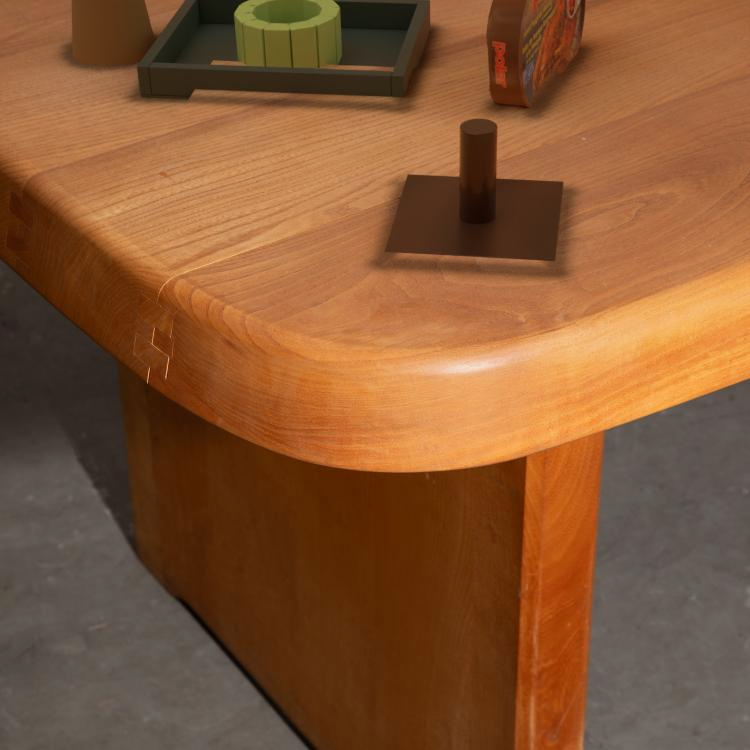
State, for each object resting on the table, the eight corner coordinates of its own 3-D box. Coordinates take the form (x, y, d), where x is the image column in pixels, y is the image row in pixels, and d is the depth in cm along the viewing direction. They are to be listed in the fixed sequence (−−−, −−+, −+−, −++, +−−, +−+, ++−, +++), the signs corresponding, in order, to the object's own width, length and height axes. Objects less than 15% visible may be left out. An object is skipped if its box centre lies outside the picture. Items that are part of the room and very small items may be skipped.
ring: (348, 41, 102) (346, -7, 100) (331, 81, 97) (328, 31, 95) (251, 38, 103) (248, -10, 101) (228, 77, 98) (224, 27, 96)
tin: (524, 133, 91) (529, 3, 86) (477, 126, 92) (478, -3, 87) (587, 45, 102) (594, -74, 97) (544, 40, 103) (549, -79, 98)
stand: (562, 199, 83) (568, 94, 80) (554, 280, 76) (559, 168, 72) (407, 192, 85) (406, 88, 81) (384, 270, 77) (381, 160, 74)
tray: (430, 34, 105) (430, -1, 103) (404, 114, 94) (403, 76, 92) (193, 26, 107) (190, -8, 106) (141, 103, 96) (136, 66, 95)
